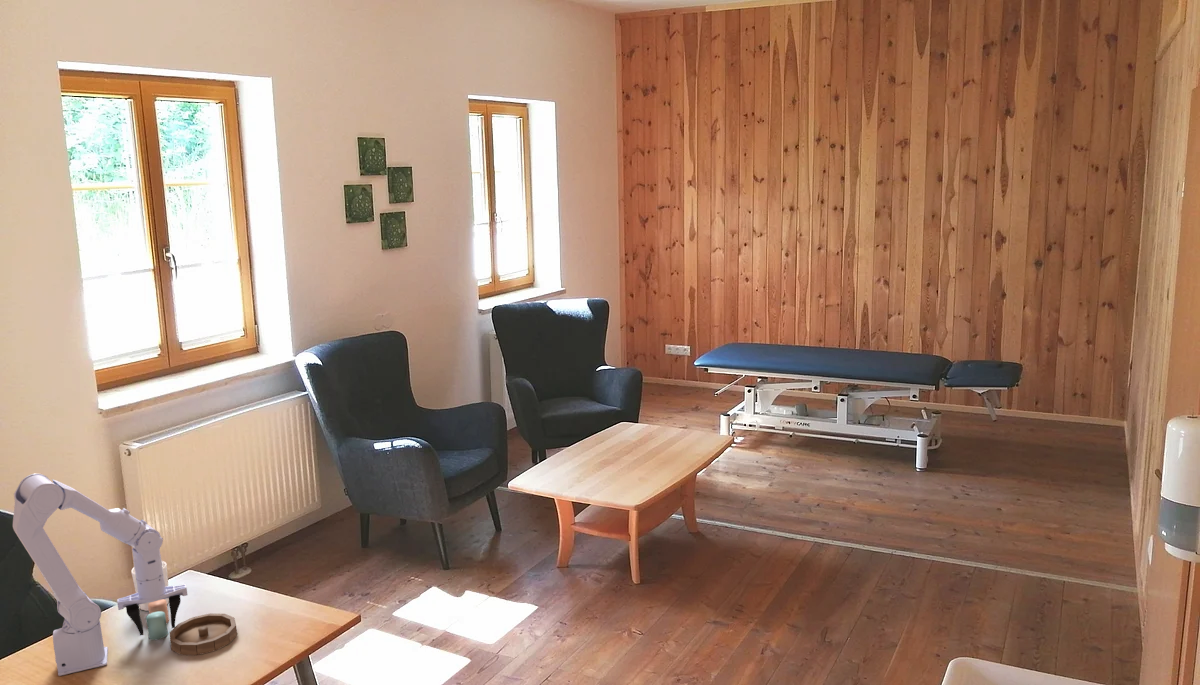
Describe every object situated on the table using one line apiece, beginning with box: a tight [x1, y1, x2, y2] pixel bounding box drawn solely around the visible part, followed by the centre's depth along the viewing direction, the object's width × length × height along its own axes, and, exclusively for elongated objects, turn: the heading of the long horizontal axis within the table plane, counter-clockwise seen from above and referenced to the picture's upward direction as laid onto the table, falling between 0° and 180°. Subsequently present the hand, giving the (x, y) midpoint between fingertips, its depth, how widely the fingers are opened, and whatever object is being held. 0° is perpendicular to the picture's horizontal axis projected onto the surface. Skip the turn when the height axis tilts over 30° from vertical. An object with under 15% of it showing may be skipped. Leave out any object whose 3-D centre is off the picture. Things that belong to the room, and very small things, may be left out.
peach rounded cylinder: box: [148, 599, 170, 624], centre depth 229 cm, size 4×4×5 cm
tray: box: [169, 613, 238, 656], centre depth 221 cm, size 14×14×2 cm
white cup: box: [131, 560, 169, 612], centre depth 237 cm, size 8×8×10 cm
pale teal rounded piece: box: [145, 611, 169, 641], centre depth 223 cm, size 4×4×5 cm
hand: (157, 629), depth 223 cm, fingers open, 6 cm apart
